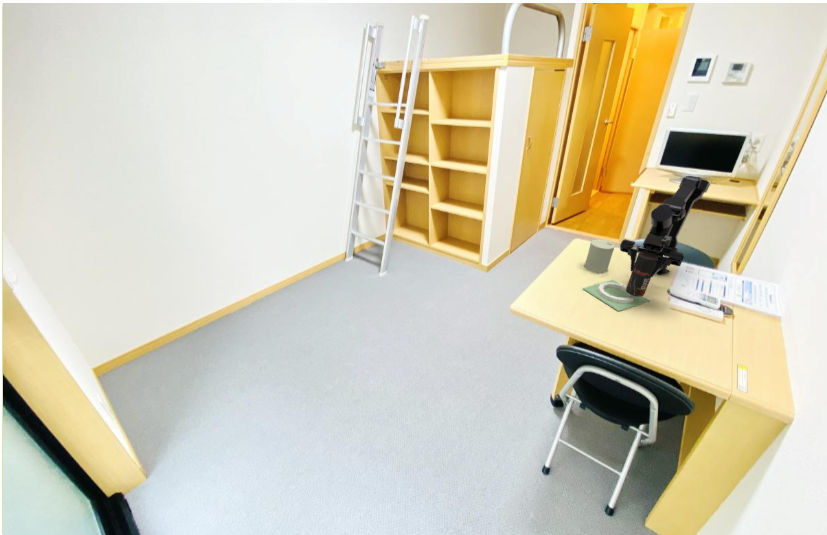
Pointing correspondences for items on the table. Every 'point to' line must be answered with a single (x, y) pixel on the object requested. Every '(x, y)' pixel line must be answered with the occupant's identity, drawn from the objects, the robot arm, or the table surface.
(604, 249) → the can
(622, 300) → the putting mat
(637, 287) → the deodorant
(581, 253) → the table surface
